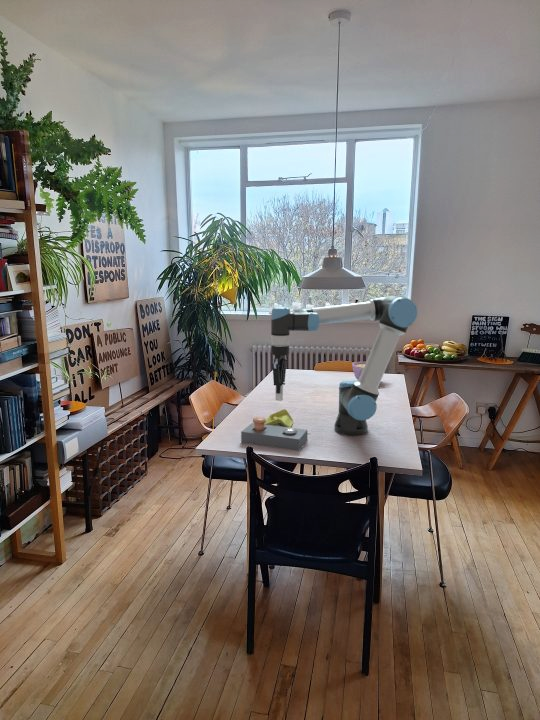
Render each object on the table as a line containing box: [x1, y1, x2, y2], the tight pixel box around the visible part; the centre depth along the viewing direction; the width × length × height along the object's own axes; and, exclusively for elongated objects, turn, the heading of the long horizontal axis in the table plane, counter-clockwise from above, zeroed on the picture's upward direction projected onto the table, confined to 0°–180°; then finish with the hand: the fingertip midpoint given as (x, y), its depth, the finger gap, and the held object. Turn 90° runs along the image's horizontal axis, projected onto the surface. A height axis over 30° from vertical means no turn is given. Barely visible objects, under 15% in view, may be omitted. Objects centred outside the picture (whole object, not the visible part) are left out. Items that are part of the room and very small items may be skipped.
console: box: [240, 422, 308, 452], centre depth 200 cm, size 26×12×5 cm, turn 69°
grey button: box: [283, 427, 296, 435], centre depth 197 cm, size 6×6×6 cm
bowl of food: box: [351, 361, 366, 381], centre depth 301 cm, size 20×20×12 cm
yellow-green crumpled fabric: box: [264, 408, 294, 428], centre depth 218 cm, size 20×7×10 cm
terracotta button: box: [252, 416, 267, 431], centre depth 201 cm, size 6×6×6 cm
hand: (279, 400), depth 195 cm, fingers closed
